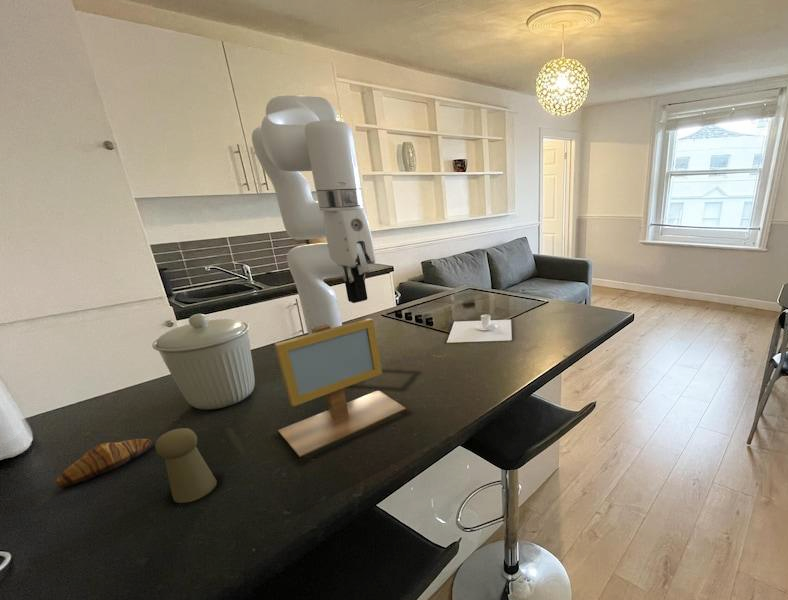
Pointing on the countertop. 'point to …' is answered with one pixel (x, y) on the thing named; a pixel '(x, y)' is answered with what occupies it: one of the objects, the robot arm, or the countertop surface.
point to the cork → (185, 465)
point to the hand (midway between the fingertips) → (358, 300)
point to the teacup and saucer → (481, 330)
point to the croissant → (102, 460)
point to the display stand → (338, 418)
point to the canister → (209, 361)
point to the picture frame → (328, 360)
